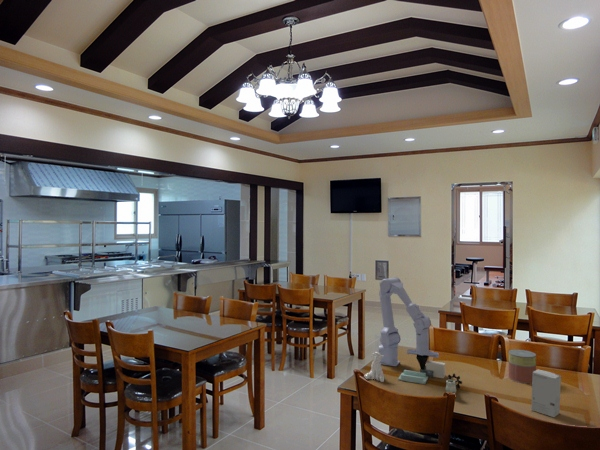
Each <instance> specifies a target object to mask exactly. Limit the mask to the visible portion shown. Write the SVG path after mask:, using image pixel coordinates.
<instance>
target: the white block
mask: <svg viewBox="0 0 600 450" xmlns="http://www.w3.org/2000/svg"><path fill="white" fill-rule="evenodd" d="M426 370H431V371H433V378H437V379H439V378H440V379H445V377H446V362H441V361H433V360H427V362H426Z"/></svg>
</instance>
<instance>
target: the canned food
mask: <svg viewBox="0 0 600 450" xmlns="http://www.w3.org/2000/svg"><path fill="white" fill-rule="evenodd" d="M536 370H537V354H536V353H535V352H533V351H530V350H525V349H510V350H508V379H509V380H511V381H512V382H515V383H518V382H519V384H524V383H525V384H527V383H532V379H533V372H534V371H536ZM527 385H528V384H527Z"/></svg>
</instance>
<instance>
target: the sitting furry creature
mask: <svg viewBox="0 0 600 450" xmlns="http://www.w3.org/2000/svg"><path fill="white" fill-rule="evenodd" d="M383 357H384V355H382V356H381V354H380V353H378V351H376V352H372V356H371V358H372V359H371V360H372V362H371V365H370V368H371V369H370V371H368V372H366V373H365V374H364V375H363V378H364V377H365V378H366V379H367V380H373V379H374V380H375V379H376V380H375V381H380V382H381V383H384V381H385V376H384V372H383V369H382V364H381V363H380V361H381V359H382V358H383ZM366 379H365V380H366ZM367 380H366V381H367Z"/></svg>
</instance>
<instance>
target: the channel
mask: <svg viewBox="0 0 600 450" xmlns="http://www.w3.org/2000/svg"><path fill="white" fill-rule="evenodd" d="M419 372H423V373H426V376H427V377H428V378H430V379H434V377H433V371H431V370H426V365H425V370H424V369H421V368H420V369H419Z"/></svg>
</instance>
